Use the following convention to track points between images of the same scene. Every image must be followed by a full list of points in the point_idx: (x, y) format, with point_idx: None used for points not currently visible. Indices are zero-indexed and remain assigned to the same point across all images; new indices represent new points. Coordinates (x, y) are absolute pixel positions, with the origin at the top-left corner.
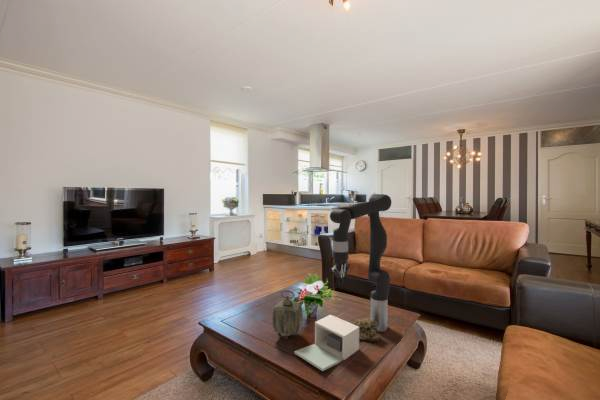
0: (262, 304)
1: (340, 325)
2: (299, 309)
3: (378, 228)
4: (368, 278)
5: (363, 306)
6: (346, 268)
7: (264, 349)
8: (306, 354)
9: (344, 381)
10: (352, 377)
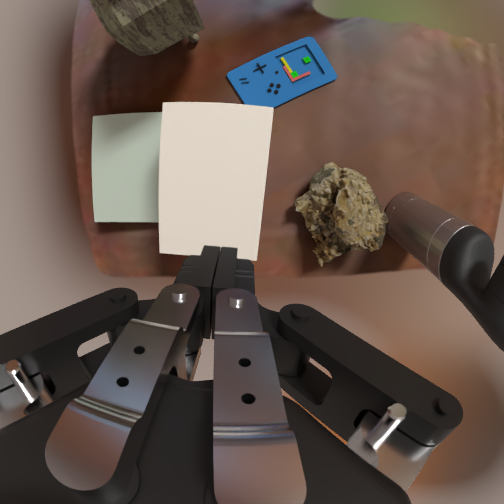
0: None
1: (214, 199)
2: (151, 17)
3: None
4: None
5: (483, 133)
6: (335, 422)
7: (86, 40)
8: (106, 147)
9: (127, 259)
10: (150, 265)
